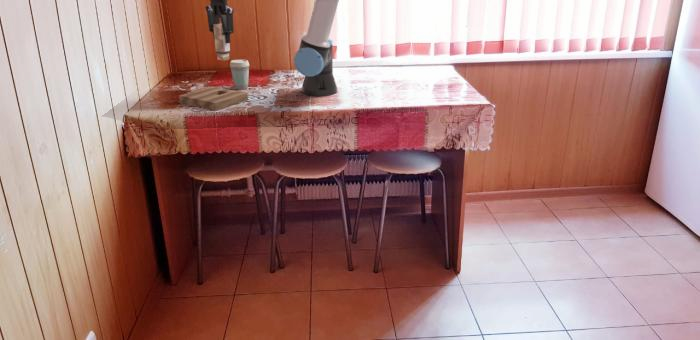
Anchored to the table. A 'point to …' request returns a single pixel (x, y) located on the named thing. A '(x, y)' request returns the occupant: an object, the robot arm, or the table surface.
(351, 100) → the table surface
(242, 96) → the board
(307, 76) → the robot arm
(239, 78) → the coffee cup
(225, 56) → the peg
